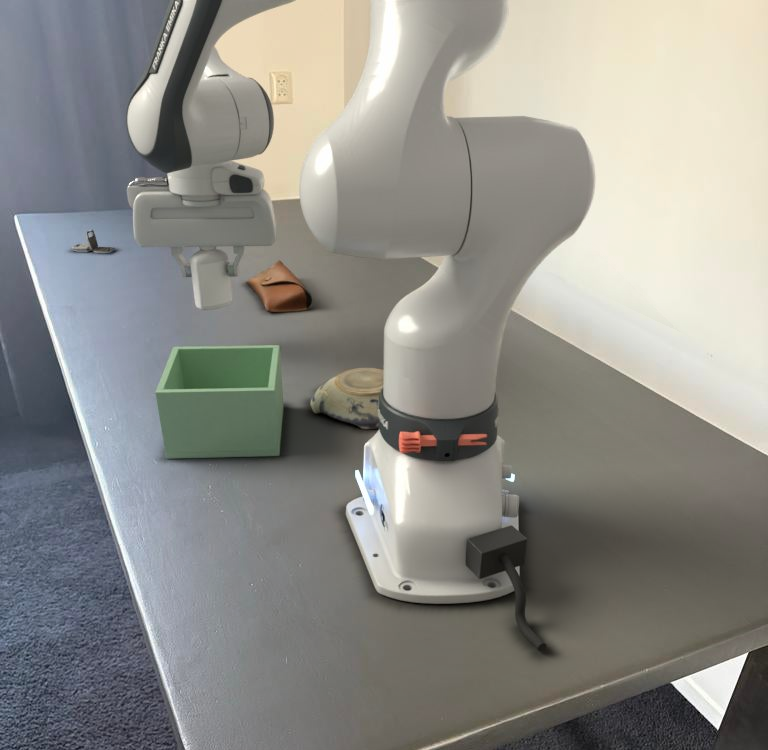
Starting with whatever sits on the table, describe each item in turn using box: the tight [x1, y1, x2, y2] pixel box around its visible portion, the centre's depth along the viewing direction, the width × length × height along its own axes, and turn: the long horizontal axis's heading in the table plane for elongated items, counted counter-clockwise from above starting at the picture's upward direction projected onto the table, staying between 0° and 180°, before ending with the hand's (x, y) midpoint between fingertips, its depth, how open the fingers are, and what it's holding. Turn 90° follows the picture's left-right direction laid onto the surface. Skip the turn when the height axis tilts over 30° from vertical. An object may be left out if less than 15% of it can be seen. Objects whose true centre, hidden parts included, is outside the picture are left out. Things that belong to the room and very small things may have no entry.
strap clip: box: [71, 228, 115, 254], centre depth 166 cm, size 8×3×4 cm, turn 81°
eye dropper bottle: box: [189, 247, 234, 311], centre depth 117 cm, size 4×6×12 cm
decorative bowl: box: [309, 367, 384, 430], centre depth 108 cm, size 15×4×15 cm
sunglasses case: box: [245, 259, 313, 313], centre depth 144 cm, size 18×7×7 cm, turn 22°
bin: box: [154, 344, 284, 460], centre depth 99 cm, size 14×14×9 cm
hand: (211, 276), depth 118 cm, fingers closed on eye dropper bottle, 5 cm apart
